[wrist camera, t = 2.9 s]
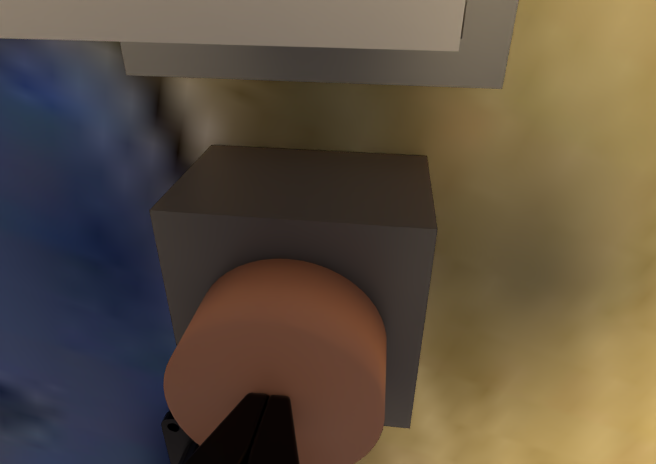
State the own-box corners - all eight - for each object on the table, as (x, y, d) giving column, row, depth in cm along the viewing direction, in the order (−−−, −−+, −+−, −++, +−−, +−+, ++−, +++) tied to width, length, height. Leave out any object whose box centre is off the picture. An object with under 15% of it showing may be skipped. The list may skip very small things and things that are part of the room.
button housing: (406, 326, 16) (409, 428, 13) (231, 311, 17) (188, 404, 13) (426, 155, 13) (437, 229, 10) (211, 144, 14) (149, 210, 10)
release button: (383, 340, 14) (377, 488, 10) (238, 327, 15) (180, 464, 11) (394, 208, 12) (393, 333, 8) (224, 198, 13) (144, 311, 9)
